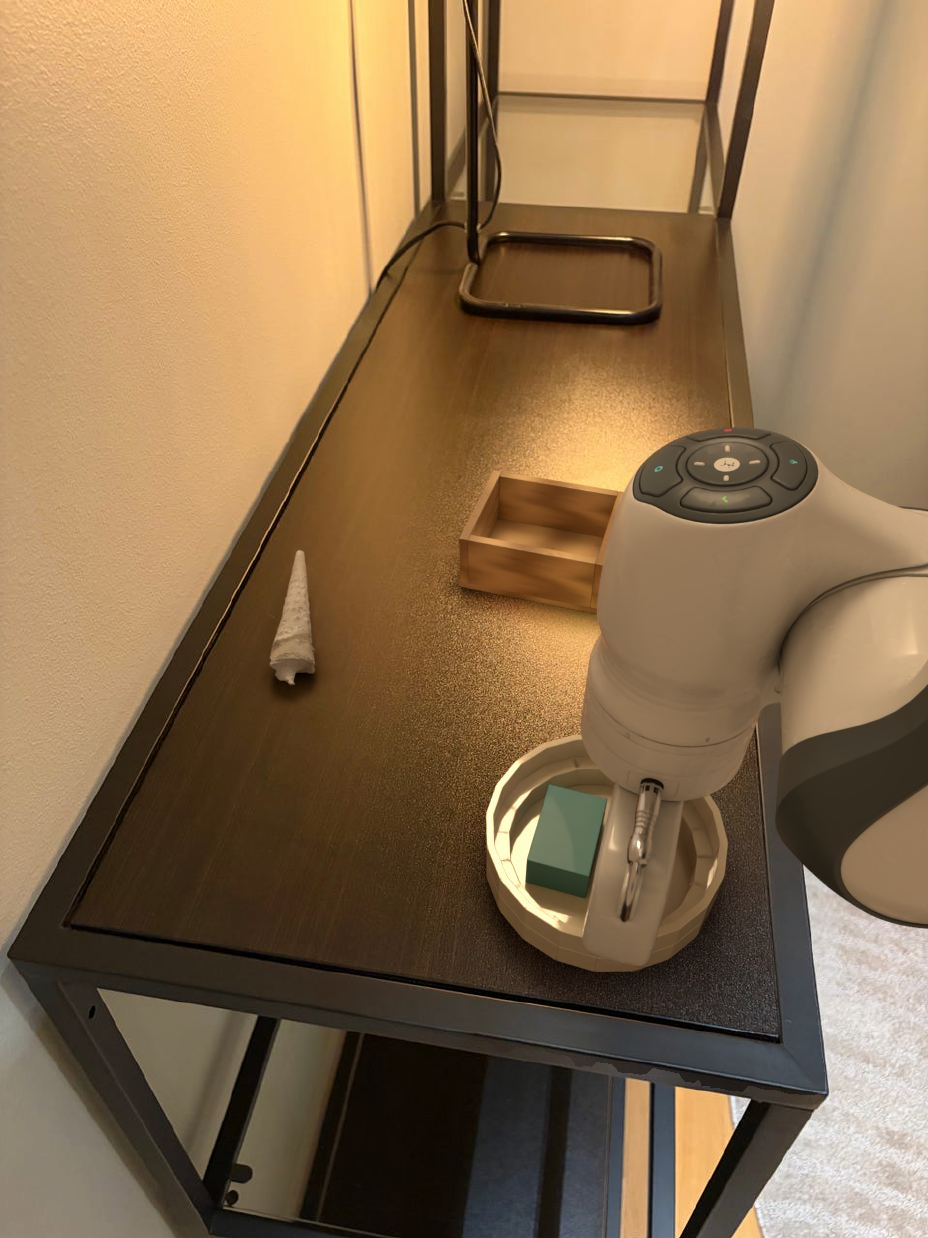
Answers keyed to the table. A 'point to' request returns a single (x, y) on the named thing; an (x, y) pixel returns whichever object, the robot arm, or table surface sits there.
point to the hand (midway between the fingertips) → (632, 851)
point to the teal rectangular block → (566, 841)
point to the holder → (538, 540)
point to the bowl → (561, 916)
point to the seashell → (294, 628)
